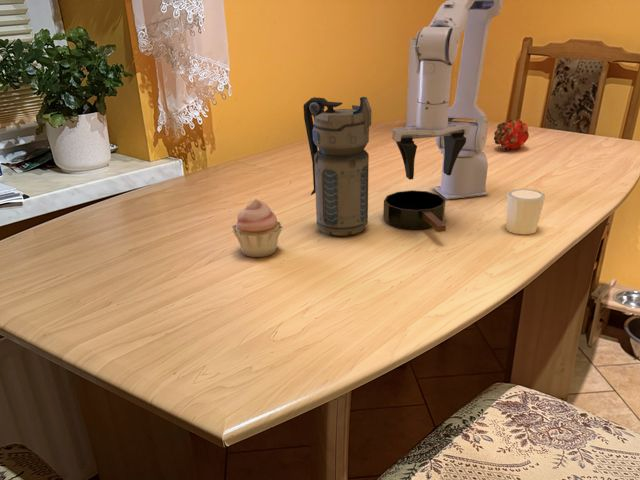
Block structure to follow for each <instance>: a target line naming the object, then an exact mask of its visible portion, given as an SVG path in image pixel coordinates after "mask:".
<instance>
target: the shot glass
mask: <svg viewBox="0 0 640 480" xmlns="http://www.w3.org/2000/svg"><path fill="white" fill-rule="evenodd" d="M506 196H507V198H506V220H505V221H506V223H505V228H506V231H508V232H510V233H512V234H517V235H532V234H534V233H535V232H536V231H537V229H538V225H539V221H540V219H541V218H540V217H541V214H542V210H543V206H544V202H545V199H546V195H545V193H543V192H542V191H539V190H535V189H530V188H517V189H511V190H509V191H508V192H507V195H506Z"/></svg>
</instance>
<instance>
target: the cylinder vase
mask: <svg viewBox="0 0 640 480" xmlns="http://www.w3.org/2000/svg"><path fill="white" fill-rule="evenodd" d="M415 41H416V37H411V38H409V53H408V57H409V58H408V73H407V95H406V96H407V97H406V98H407V99H406V116H405V117H406V120H405V127H406V126H411V125H416V116H417V95H418V76H419V74H418V73H416V59H415ZM451 74H452V72H451Z"/></svg>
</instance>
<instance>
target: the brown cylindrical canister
mask: <svg viewBox="0 0 640 480" xmlns="http://www.w3.org/2000/svg"><path fill="white" fill-rule="evenodd" d="M341 105H343V102H341V101H340V102H338V101H328V100H327V99H325V98H324V97H315V96H313V97H310V99H308V100H307V101H306V102H305V103H304V104H303V120H304V126H305V131H306V136H307V141H308V146H309V152H310V157H311V162H312V185H313V189H312V191H311V193H310V196H313V195H314V194H315V215H316V216H315V218H316V219H315V220H316V225H317V227H318V229H319V231H321V232H322V233H324V234H327V235H331V236H337V237H346V236H353V235H357V234H359V233H361V232H363V231H364V230H365V229H366V227H367V225H368V224H369V167H370V166H369V164H370V163H369V160H370V159H369V158H370V156H369V152H368V151H367V150H366V146H367V145H368V144H369V142H370V127H371V126H372V107H371V105H370V103H369V99H368V97H367V96H361V97H359V105H355V104H352V105H351V108H337V107H340V106H341ZM325 107H326V108H327V109H326V110H325Z"/></svg>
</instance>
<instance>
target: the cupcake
mask: <svg viewBox="0 0 640 480" xmlns="http://www.w3.org/2000/svg"><path fill="white" fill-rule="evenodd" d="M236 216H237V217H236V219H237V221H236V224H234V225H231V228H232V233H233V234H234V237H236V239H237V242H238V244H239V248H240V251H241V252H242V254H243V255H245V256H247V257H250V258H263V257H268V256H271V255H273V254H275V252H276V250H277V247H278V241H279V237H280V234H281V232H282V231H283V229H284V227H283V226H282V222H281V221H278V218H277V215H276V214H275V213H274V212H273V211H272V209H271V207H270V206H269V205H268V204H267V203H265V202H264V201H262V200H261V199H254V200H252V201H250V202H249V203H248V204H247V205H246V206H245V208H244V209H242V210H240V211H239V212H238V213H237V215H236Z"/></svg>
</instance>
